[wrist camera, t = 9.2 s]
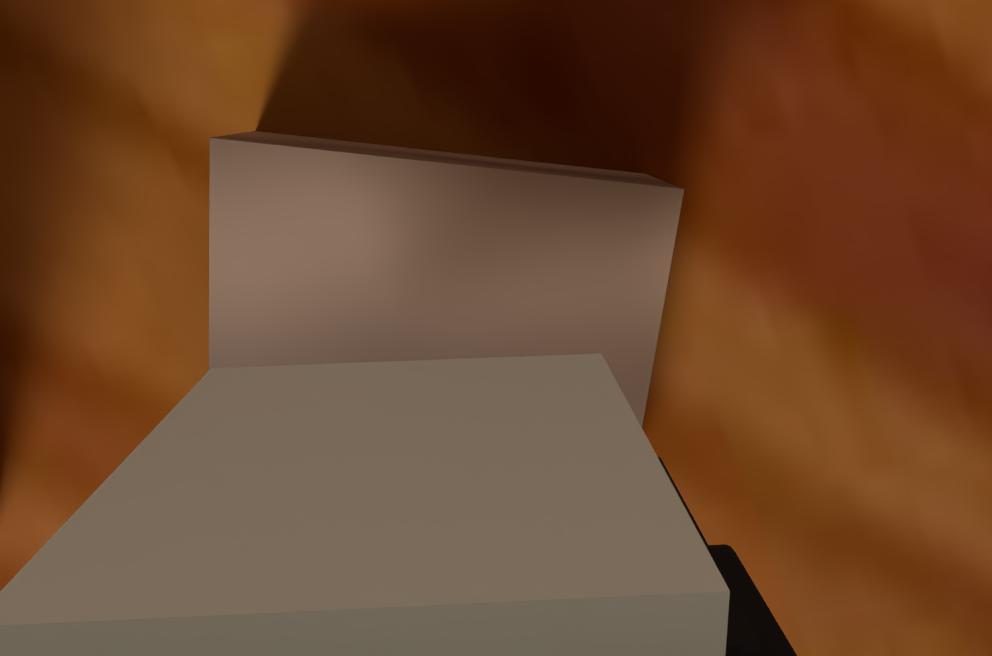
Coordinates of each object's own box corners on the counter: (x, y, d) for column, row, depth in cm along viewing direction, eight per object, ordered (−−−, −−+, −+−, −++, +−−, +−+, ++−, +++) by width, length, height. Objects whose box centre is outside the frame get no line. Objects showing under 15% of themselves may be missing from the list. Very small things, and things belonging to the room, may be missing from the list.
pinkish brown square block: (258, 130, 20) (209, 137, 16) (641, 172, 20) (684, 189, 16) (251, 481, 22) (207, 561, 18) (588, 507, 23) (613, 588, 19)
